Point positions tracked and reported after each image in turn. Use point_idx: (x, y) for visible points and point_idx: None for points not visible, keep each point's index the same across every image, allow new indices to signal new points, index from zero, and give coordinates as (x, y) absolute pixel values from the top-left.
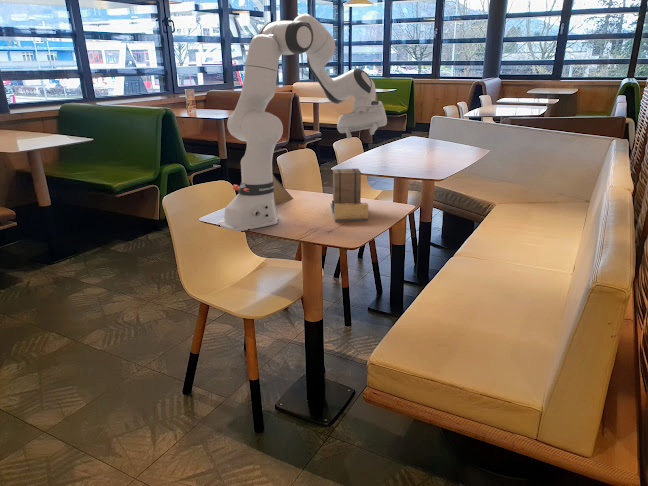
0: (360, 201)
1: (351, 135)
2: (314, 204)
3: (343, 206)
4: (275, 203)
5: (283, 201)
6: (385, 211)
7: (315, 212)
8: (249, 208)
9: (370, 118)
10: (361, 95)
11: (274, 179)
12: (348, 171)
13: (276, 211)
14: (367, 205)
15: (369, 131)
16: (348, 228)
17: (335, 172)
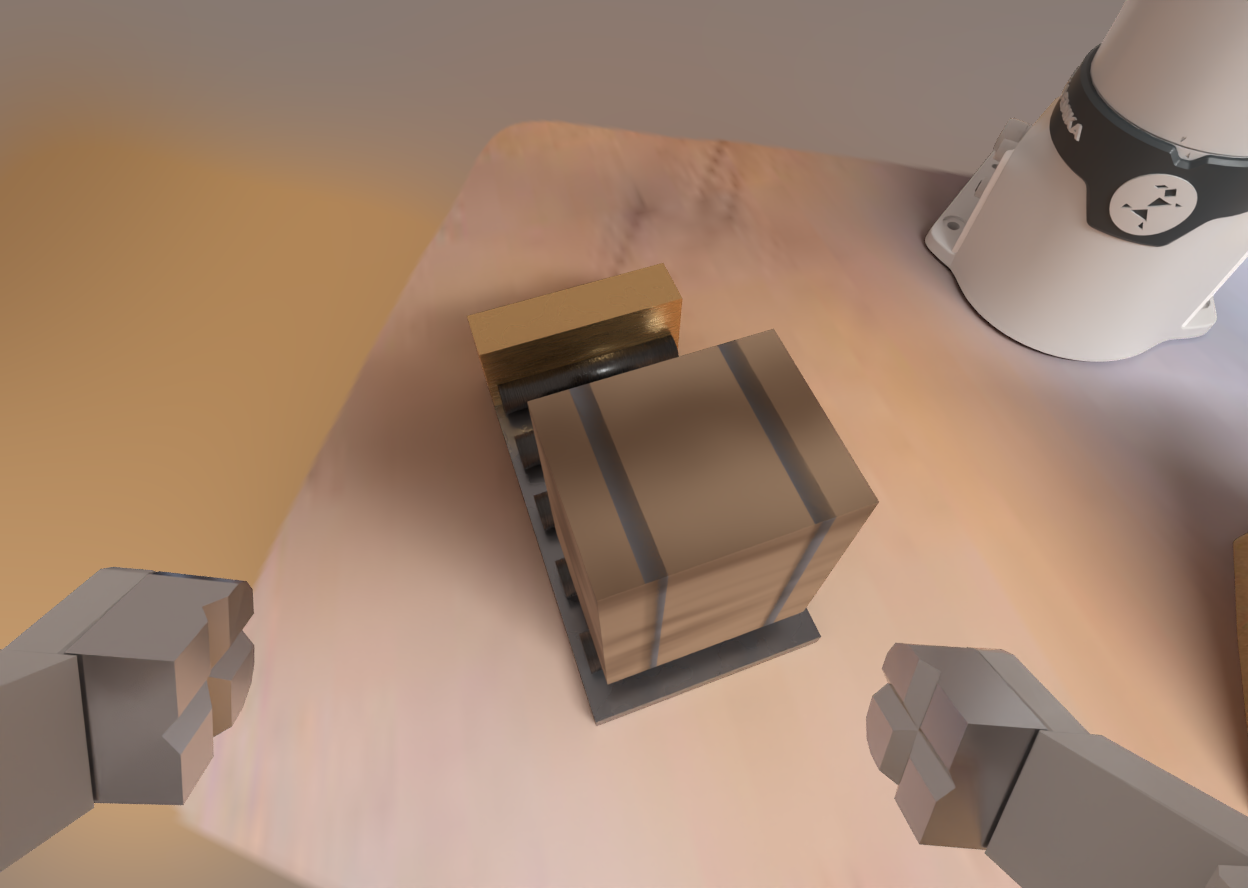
0: (555, 527)
1: (914, 813)
2: None
3: (615, 280)
4: (1238, 586)
5: (1243, 679)
6: (383, 592)
7: None
8: (1052, 103)
9: None
10: None
11: None
12: (665, 418)
13: (991, 262)
14: (472, 317)
15: (233, 588)
16: (566, 260)
17: (776, 351)
